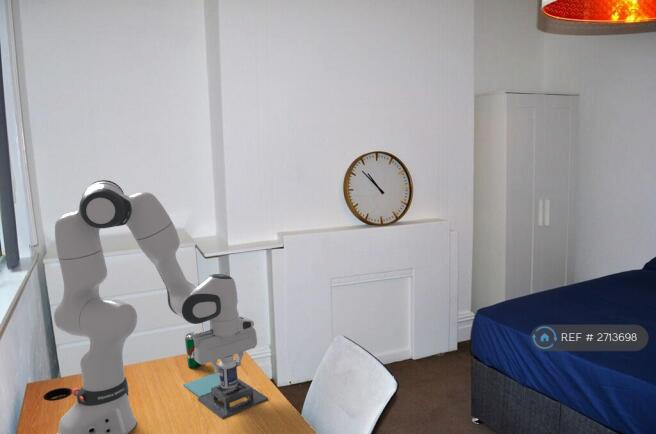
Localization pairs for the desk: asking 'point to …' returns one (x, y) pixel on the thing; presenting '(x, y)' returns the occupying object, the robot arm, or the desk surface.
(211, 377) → the mat
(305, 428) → the desk surface
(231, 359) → the pill bottle
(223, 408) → the square frame
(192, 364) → the soda can
